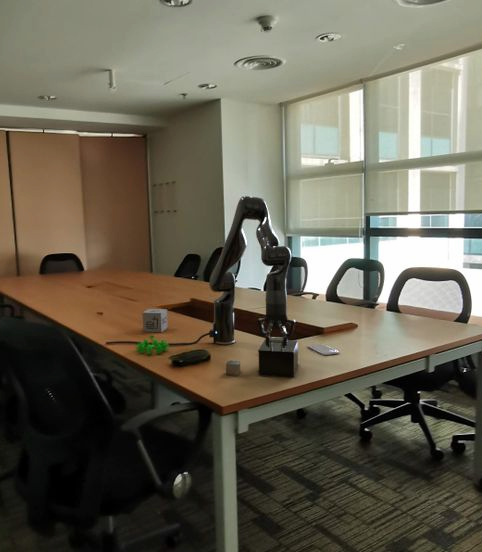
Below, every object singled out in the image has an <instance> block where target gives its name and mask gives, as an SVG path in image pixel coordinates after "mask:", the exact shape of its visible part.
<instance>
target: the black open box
mask: <svg viewBox="0 0 482 552" xmlns="http://www.w3.org/2000/svg"><path fill="white" fill-rule="evenodd" d="M298 365H299V342H298V343H297V346H296V349H295V352H294V354H280V353H262V352H258V376H261V377H262V376H264V377H279V378H295V375H296V371H297V369H298Z"/></svg>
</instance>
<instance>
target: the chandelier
mask: <svg viewBox="0 0 482 552" xmlns="http://www.w3.org/2000/svg"><path fill="white" fill-rule="evenodd" d="M150 338H151V343H152V345H150V344H149V342H150V341H149V340H148V339H144V340H143V341H137V342H138V343H139V344H135V348H136V351H137V353H138V354H141V355H142V354H144V353H145V352H146V354H147V355H149V356H150V355H151V354H152V351H153V348H154V349H155V353H156V354H157V355H160V354H161V353H162V352H164V353H165V352H168V350H170V349H169V348H170V345H168V343H169V342H167V340H166V339H161V340H160V341H159V342H158V339H157V338H155V335H154V334H151V335H149V339H150ZM153 339H154V340H153ZM143 342H144V343H143ZM158 343H159V344H160V345H159V344H158ZM165 343H166V344H165Z"/></svg>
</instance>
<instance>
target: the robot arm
mask: <svg viewBox="0 0 482 552" xmlns="http://www.w3.org/2000/svg"><path fill="white" fill-rule="evenodd" d="M245 220H251V221H258V222H259V224H258V225H257V227H256V230H255V237H256V239H257V242H258V244H259V246H260V259H261V262H262V264H263V265H265V266H267V267H277V269H276V270H275V271H271V272H269V273H267V274H266V276H265V277H266V279H265V282H266V283H265V284H266V288H265V289H266V290H265V300H264V301H265V317H263V318H258V319H257V326H258V330H259V334H260V336H263V337H265V339H266V346H267V347H270V342H269V338H270V337H271V336H270V334H271V332H272V330H279V331H280V333H281V334H282V337H283V348H285V347H286V346H287V340H288V339H289V338H291V337H292V336H293V333H294V330H295V324H296V319H291V318H289V317H288V313H287V312H288V295H287V276H288V272H289V271H288V270H289V267H290V263H291V260H292V253H291V249H290V248H289V247H288V246H286V245H280V240H279V237H278V235H277V233H276V231H275V229H274V227H273V224H272V222H271V221H272V220H271V215H270V212H269V208H268V205H267V203H266V201H265V199H264V198H262V197H258V196H251V195H243V196H241V197H240V199H239V200H238V203H237V205H236V209H235V212H234V216H233V220H232V223H231V226H230V229H229V231H228V234H227V237H226V239H225V242H224V245H223V247H222V250H221V253H220V255H219V258H218V261H217V263H216V264H215V267H214V268H213V270H212V272H211V274H210V277H209V288H210V290H211V292H214V293H222V294H221V295H220V296H219V297H217V298H216V299H214V300H213V323H212V328H211V329H209V330H208V331H209V332H207V333H204V334H202V335H201V336H199V337H198V338H197V340H195V341H192V342H176V343H175V342H173V343H172V342H171V343H170V342H167V343H168V345H169V346H190V345H196V344H197V343H199V342H200V341H201V340H202V338H204V337H206V336H207V337H208V336H209V338H212V339H213V344H216V345H220V346H221V345H222V346H224V345H227V346H228V345H232V344H234V343H235V299H236V278H235V274H234V273H233V272H232V271H229V270H230V269H231V268H232V267H234V266H235V265H236V264H237V263H238V262H240V261H241V259H242V258H243V256H244V254H245V252H246V249H247V246H248V240H247V236H246V234H245V231H244V228H243V226H244V225H243V224H244V221H245ZM265 323H266V325H267V326H268V327H267V329H266V331H265V327H264V324H265ZM287 323H288V326H289V332H287V330H286V327H285V326H286V324H287ZM138 342H139V341H135V340H134V341H133V340H132V341H131V340H119V341H118V340H117V341H115V340H114V341H105V345H114V344H135V345H136V344H137V345H138V344H139V343H138ZM142 342H143V343H144V341H142ZM148 342H149V345H150V346H151V345H152V341H151V342H150V341H148ZM158 344H159V342H158ZM165 344H166V343H165ZM159 345H160V344H159ZM168 345H167V346H168Z"/></svg>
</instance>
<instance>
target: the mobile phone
mask: <svg viewBox="0 0 482 552" xmlns="http://www.w3.org/2000/svg"><path fill="white" fill-rule="evenodd" d="M307 347H308V348H310V349H311V350H313V351H315V352H317V353H319V354H321V355H322V356H328V355H337V354H339V351H338V350H336V349H334V348H332V347H330V346H328V345H326V344H324V343H312V344H308V345H307Z"/></svg>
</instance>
